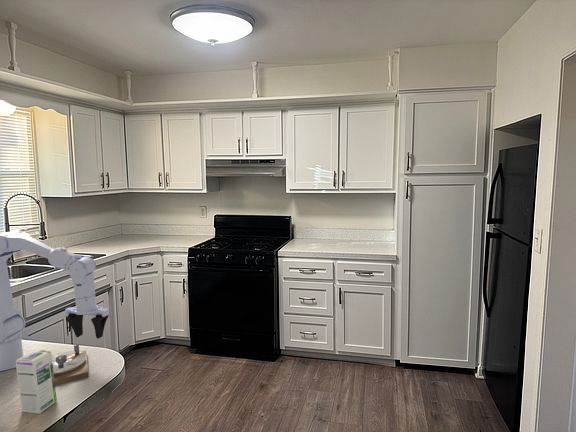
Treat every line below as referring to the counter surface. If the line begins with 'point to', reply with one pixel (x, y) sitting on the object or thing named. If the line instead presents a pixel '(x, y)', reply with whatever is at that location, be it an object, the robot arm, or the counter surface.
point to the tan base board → (73, 373)
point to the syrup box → (36, 381)
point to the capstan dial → (67, 361)
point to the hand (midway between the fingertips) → (89, 336)
